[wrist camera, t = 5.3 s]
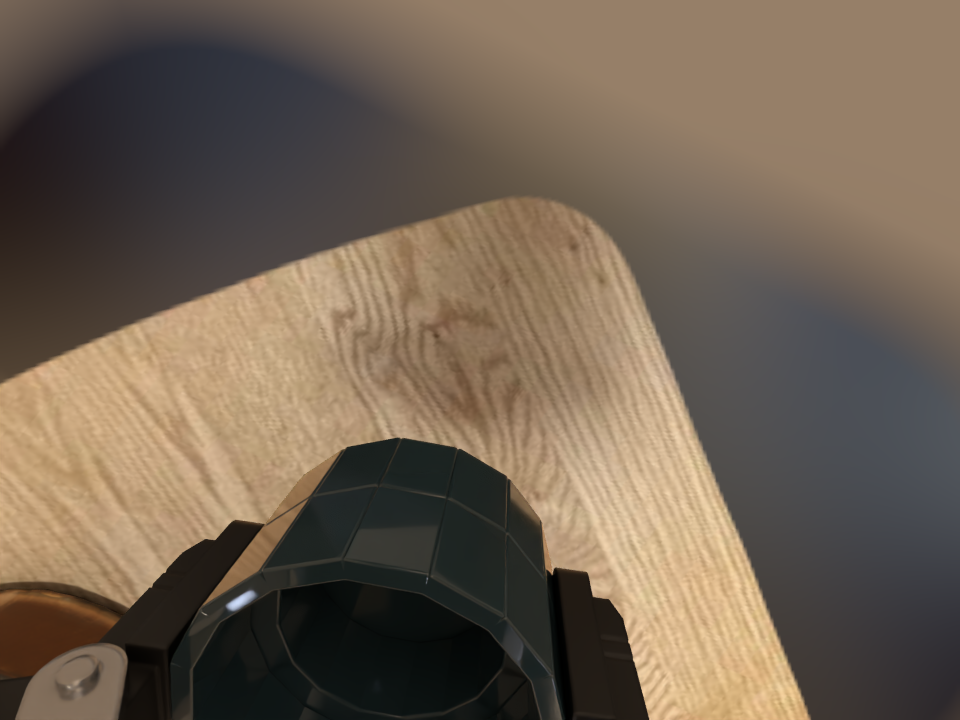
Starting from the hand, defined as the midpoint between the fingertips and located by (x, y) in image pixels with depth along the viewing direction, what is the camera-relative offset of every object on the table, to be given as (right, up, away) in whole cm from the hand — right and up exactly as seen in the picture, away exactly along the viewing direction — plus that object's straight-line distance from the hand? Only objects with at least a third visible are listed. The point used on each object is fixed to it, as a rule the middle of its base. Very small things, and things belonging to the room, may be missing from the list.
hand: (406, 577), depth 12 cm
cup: (0, 0, +1) cm, 1 cm away
